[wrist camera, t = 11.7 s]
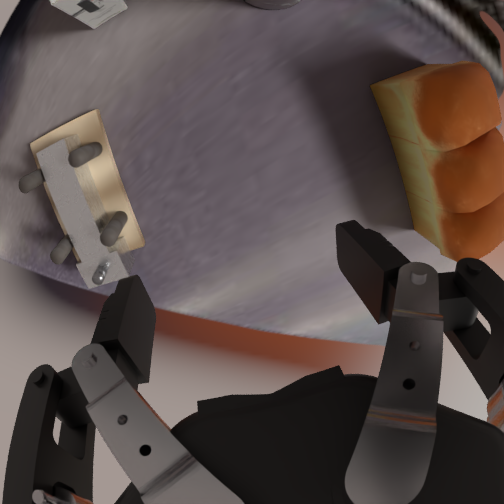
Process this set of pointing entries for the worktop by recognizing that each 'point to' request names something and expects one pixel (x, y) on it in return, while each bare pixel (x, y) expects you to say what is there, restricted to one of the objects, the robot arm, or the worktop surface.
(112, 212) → the rack
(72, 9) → the ink box
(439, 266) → the worktop surface
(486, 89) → the bread
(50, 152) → the grey pegged bar
